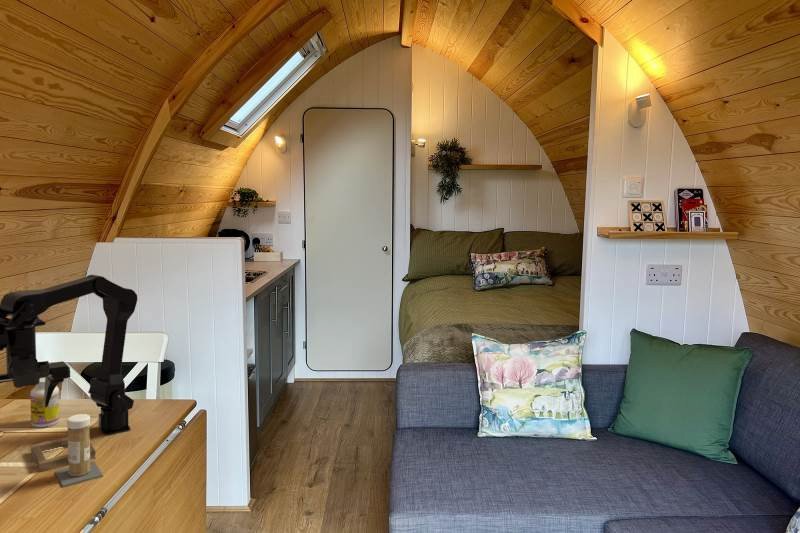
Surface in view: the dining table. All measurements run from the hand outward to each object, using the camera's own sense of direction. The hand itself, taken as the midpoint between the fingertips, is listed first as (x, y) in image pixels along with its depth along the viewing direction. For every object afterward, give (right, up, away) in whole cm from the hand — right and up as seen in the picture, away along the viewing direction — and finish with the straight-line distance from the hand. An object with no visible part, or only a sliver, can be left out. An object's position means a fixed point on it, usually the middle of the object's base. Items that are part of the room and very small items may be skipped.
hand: (22, 411), depth 128 cm
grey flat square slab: (+14, -14, -2) cm, 20 cm away
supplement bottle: (-10, -10, +23) cm, 27 cm away
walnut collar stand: (+6, -13, +6) cm, 15 cm away
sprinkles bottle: (+14, -14, -2) cm, 20 cm away
